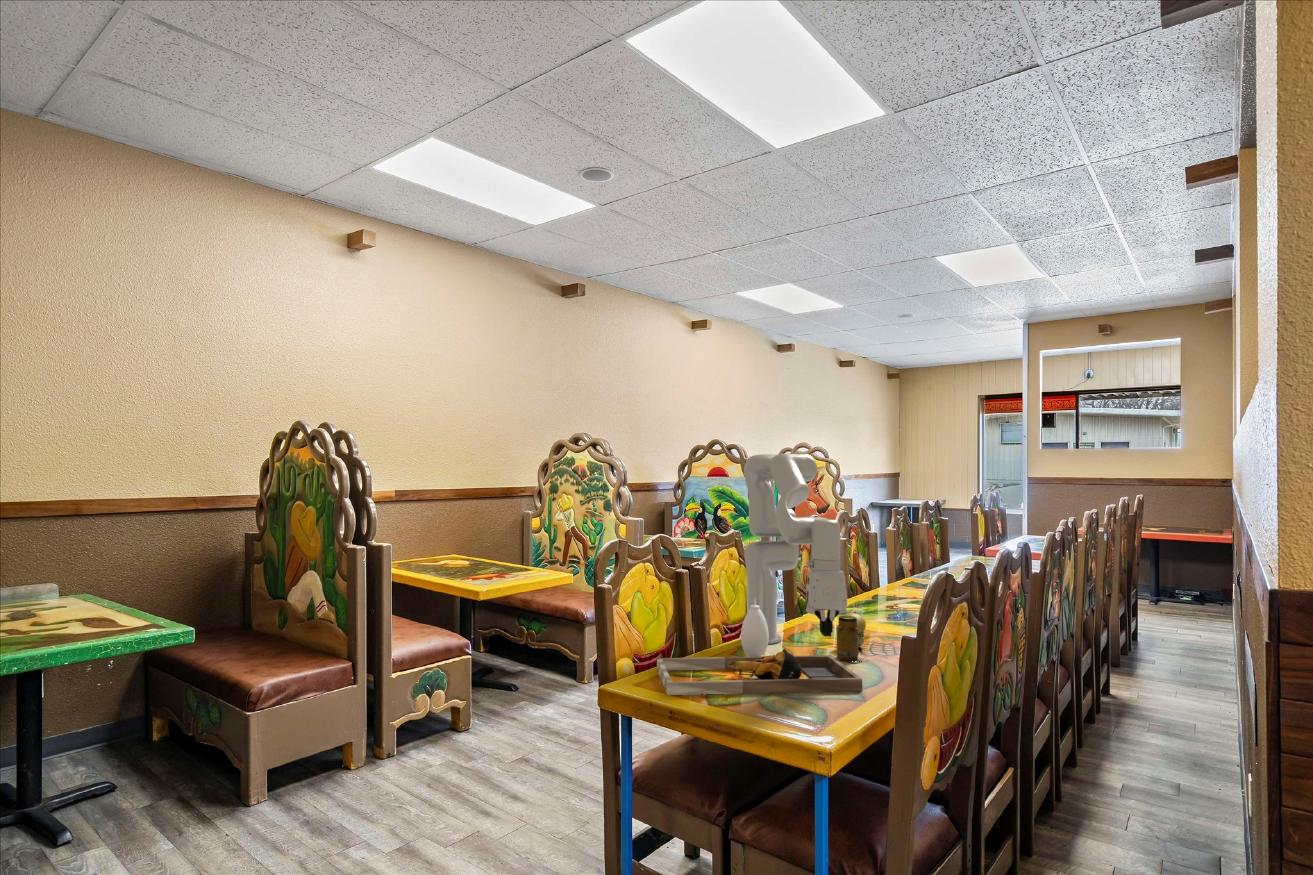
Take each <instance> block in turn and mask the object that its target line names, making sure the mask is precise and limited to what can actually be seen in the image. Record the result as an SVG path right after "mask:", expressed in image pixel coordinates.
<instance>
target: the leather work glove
mask: <svg viewBox="0 0 1313 875" xmlns="http://www.w3.org/2000/svg"><path fill="white" fill-rule="evenodd" d="M763 656H764V655H763ZM794 656H795V655H793V654H792V653H790V652H789V651H787V649H786V648H783V649H782V650H781V651H778V652H776V654H770V655H765V656H764V657H761V658H759V659H756V662H748V661H731V662H729V663H728V666H729V667H733V668H736V669H735V670H751V671H753V674H754V676H755V677H756V678H757V680H776V679H801V676H802V670H801V668H802V666H801V665H799V663H798V662H797V660H796V658H795V657H794Z"/></svg>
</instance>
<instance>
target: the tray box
mask: <svg viewBox="0 0 1313 875" xmlns="http://www.w3.org/2000/svg"><path fill="white" fill-rule="evenodd" d="M793 656H794V657H795V658H796V660H797V662H798V663H799V665H801V666H802V668H801V672H803V673H804V674H805V675H806V677H808V678H799V679H776V680H759V679H739V680H737V679H735V680H733V679H732V680H700V681H699V680H698V681H696V680H693V681H692V680H690V681H686V680H685V681H672V678H671V676H670V674H669V672H668V671H703V670H704V671H705V670H710V671H711V670H715V671H716V670H737V669H736V668H733V667H729V666H728V663H729V662H731V661H748V662H756V659H759V658H761V657H764V655H762V656H760V657H748V656H720V657H719V656H715V657H714V656H713V657H712V656H711V657H710V656H709V657H708V656H707V657H663V658H656V670H658V671H657V673H658V675H659V678H660V680H661V683H662V685H663V688H664V691H665V692H666V695H667V696H668V695H683V696H707V695H706V694H724V695H752V694H753V695H757V694H761V695H762V694H795V693H796V694H800V693H801V692H803V693H833V692H834V693H837V692H843V693H844V692H863V678H862V677H860V676H859V675H858V674H857V673H855V671H854V672H853V671H852V670H851V669H850V668H848V667H847V666H845V664H843V663H842V662H840V660H838V659H835V658H834V657H833V655H830V654H829V655H824V654H823V655H820V654H819V655H793ZM701 694H703V695H701ZM801 694H802V693H801Z"/></svg>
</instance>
